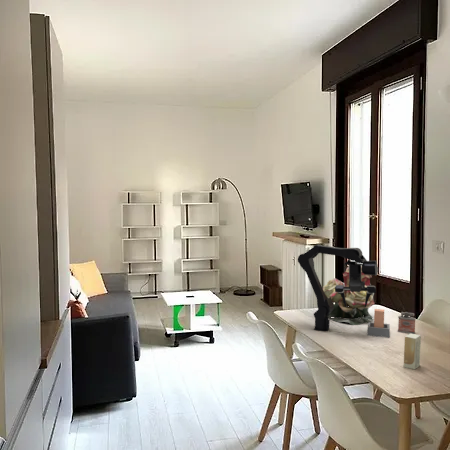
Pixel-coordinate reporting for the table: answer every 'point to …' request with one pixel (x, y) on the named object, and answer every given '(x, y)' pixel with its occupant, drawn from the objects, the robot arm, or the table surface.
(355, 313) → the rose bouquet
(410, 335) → the skincare box
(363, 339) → the table surface
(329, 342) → the table surface
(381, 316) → the terracotta block
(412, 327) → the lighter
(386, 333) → the well
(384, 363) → the table surface
